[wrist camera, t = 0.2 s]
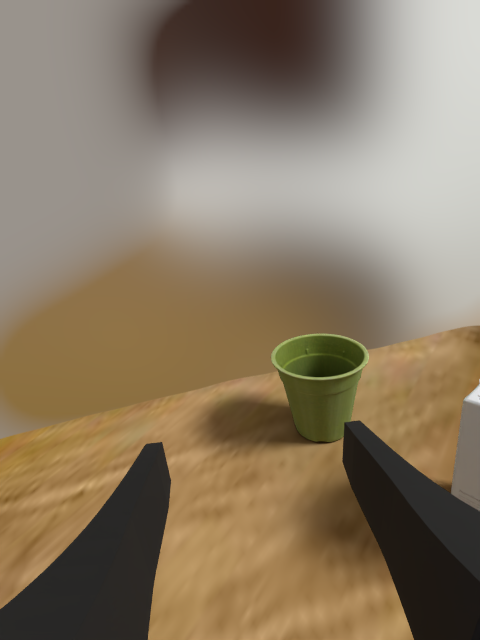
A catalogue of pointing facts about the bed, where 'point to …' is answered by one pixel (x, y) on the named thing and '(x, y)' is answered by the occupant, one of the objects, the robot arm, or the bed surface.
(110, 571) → the robot arm
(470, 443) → the skincare box
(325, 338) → the plant pot
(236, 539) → the bed surface
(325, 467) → the bed surface
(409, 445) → the bed surface
